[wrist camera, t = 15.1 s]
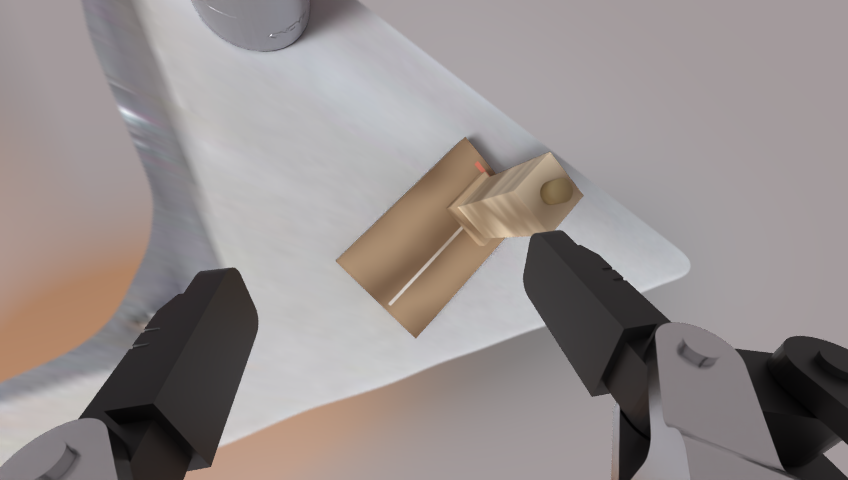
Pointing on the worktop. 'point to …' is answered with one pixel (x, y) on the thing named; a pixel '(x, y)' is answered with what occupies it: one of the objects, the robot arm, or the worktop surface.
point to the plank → (421, 244)
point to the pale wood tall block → (516, 201)
